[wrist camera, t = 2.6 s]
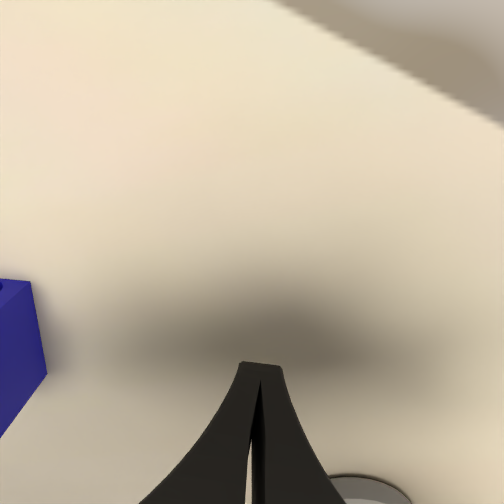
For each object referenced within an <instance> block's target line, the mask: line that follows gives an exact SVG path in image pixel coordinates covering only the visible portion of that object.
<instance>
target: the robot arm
mask: <svg viewBox="0 0 504 504" xmlns="http://www.w3.org/2000/svg"><path fill="white" fill-rule="evenodd" d="M251 439H252V504H346V502H345V501H344V499H343V498H342V497H341V495H340V494H339V492H338V491H337V489H336V488H335V487H334V485H333V484H332V482H331V480H330V479H329V477H328V475H327V474H326V472H325V471H324V469H323V467H322V466H321V464H320V462H319V460H318V459H317V457H316V455H315V453H314V451H313V449H312V447H311V445H310V444H309V441H308V439H307V437H306V435H305V433H304V431H303V429H302V427H301V424H300V422H299V420H298V417H297V415H296V412H295V410H294V407H293V405H292V402H291V399H290V396H289V393H288V390H287V387H286V384H285V380H284V376H283V371H282V368H281V367H280V366H277V365H269V364H261V363H254V362H246V361H242V362H241V363H239V367H238V370H237V373H236V376H235V378H234V381H233V383H232V385H231V387H230V389H229V391H228V393H227V395H226V397H225V399H224V401H223V402H222V404H221V406H220V408H219V409H218V411H217V413H216V414H215V416H214V417H213V419H212V420H211V422H210V423H209V425H208V426H207V428H206V429H205V431H204V432H203V434H202V435H201V436H200V438H199V439H198V440H197V442H196V443H195V444H194V446H193V447H192V448H191V449H190V451H189V452H188V453H187V454H186V455H185V457H184V458H183V459H182V460H181V461H180V462H179V464H178V465H177V466H176V467H175V468H174V469H173V470H172V471H171V473H170V474H169V475H168V476H167V477H166V478H165V479H164V480H163V481H162V482H161V483H160V484H159V485H158V486H157V487H156V488H155V489H154V490H153V491H152V492H151V493H150V494H149V495H148V496H146V497H145V498H144V499H143V500H142V501H141V502H140V503H139V504H245V492H246V477H247V462H248V455H249V450H250V444H251Z"/></svg>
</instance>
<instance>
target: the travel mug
mask: <svg viewBox="0 0 504 504" xmlns="http://www.w3.org/2000/svg"><path fill="white" fill-rule="evenodd" d="M330 480H331V482H332V484H333V485H334V487H335V488H336V489H337V491H338V492H339V494H340V495H341V497H342V498H343V499H344V501H345V502H346V504H411V502H410V501H409V500H408V499H407V498H406V497H405V496H404V495H403V494H402V493H400V492H399V491H398V490H396V489H395V488H393V487H391V486H389V485H387V484H384V483H382V482H378V481H375V480H371V479H366V478H359V477H340V478H332V479H330Z"/></svg>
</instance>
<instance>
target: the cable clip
mask: <svg viewBox="0 0 504 504" xmlns="http://www.w3.org/2000/svg"><path fill="white" fill-rule="evenodd" d="M46 375H47V369H46V364H45V358H44V353H43V347H42V342H41V337H40V331H39V326H38V321H37V315H36V310H35V305H34V299H33V294H32V289H31V283H30V281H20V280H10V279H0V438H1V436H2V435H3V434H4V432H5V431H6V430H7V428H8V427H9V426H10V424H11V423H12V421H13V420H14V419H15V417H16V416H17V415H18V413H19V412H20V411H21V409H22V408H23V406H24V405H25V404H26V402H27V401H28V400H29V398H30V397H31V396H32V394H33V393H34V391H35V390H36V389H37V387H38V386H39V385H40V383H41V382H42V381H43V379H44V378H45V376H46Z"/></svg>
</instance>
